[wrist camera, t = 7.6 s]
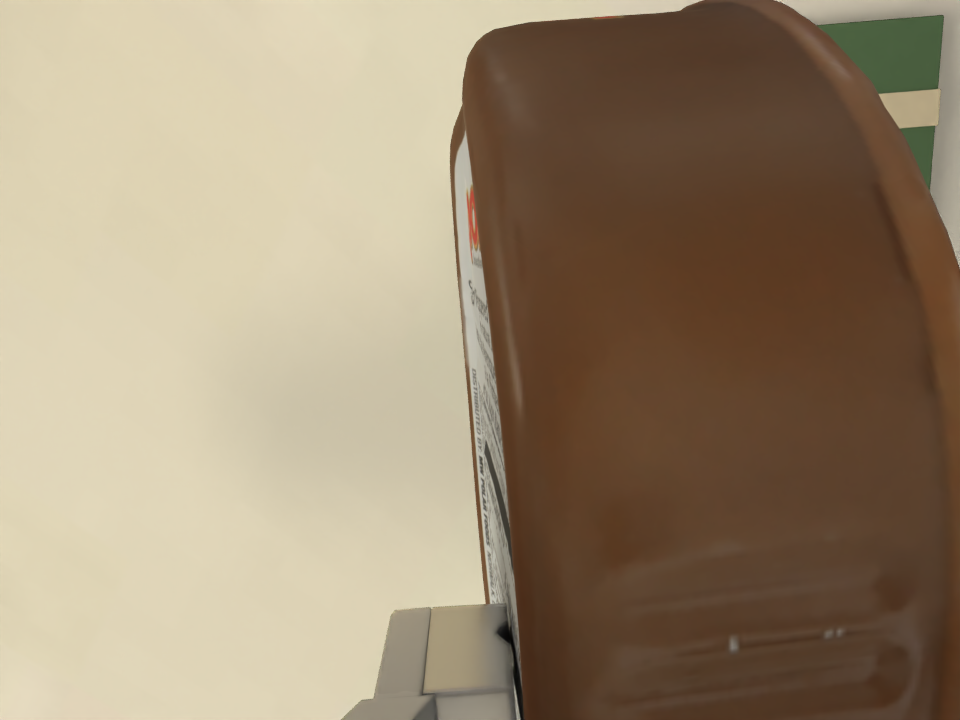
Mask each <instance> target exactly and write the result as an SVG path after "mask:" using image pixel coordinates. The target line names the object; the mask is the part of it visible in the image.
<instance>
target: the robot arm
mask: <svg viewBox="0 0 960 720" xmlns="http://www.w3.org/2000/svg"><path fill="white" fill-rule="evenodd" d="M341 720H517V717H516V705H515V693H514V681H513V670H512V658H511V646H510V636H509V624H508V613H507V603H499V604H481V605H463V606H445V607H433V608H432V609H431V608H430V607H426V608H414V609H402V610H395V611H394V612H393V613H392V615H391V616H390V621H389V626H388V631H387V635H386V640H385V645H384V650H383V655H382V660H381V664H380V669H379V674H378V679H377V684H376V689H375V693H374V698H373V699H367V700H361V701H360V702H359V703H358V704H357V705H356V706H355V707H354V708H353V709H352V710H351V711H349V712H348V713H347V714H346V715H345V716H344V717H343V718H342V719H341Z"/></svg>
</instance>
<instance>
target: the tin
mask: <svg viewBox="0 0 960 720" xmlns="http://www.w3.org/2000/svg"><path fill="white" fill-rule="evenodd" d="M462 103H463V104H462V107H461V110H460V112H459V115H458V118H457V120H456V123H455V126H454V129H453V134H452V139H451V146H450V176H451V194H452V207H453V221H454V235H455V249H456V263H457V277H458V287H459V298H460V308H461V320H462V333H463V345H464V357H465V368H466V379H467V391H468V403H469V416H470V429H471V442H472V455H473V467H474V480H475V492H476V505H477V517H478V528H479V539H480V550H481V561H482V572H483V582H484V591H485V600H486V604H499V603H507V613H508V624H509V636H510V646H511V658H512V670H513V681H514V693H515V705H516V717H517V720H960V268H959V265H958V262H957V259H956V256H955V253H954V250H953V247H952V244H951V241H950V238H949V235H948V232H947V230H946V228H945V226H944V223H943V221H942V219H941V217H940V215H939V212H938V210H937V208H936V205H935V203H934V201H933V198H932V196H931V194H930V191H929V189H928V187H927V185H926V182H925V180H924V178H923V175H922V173H921V171H920V169H919V166H918V164H917V162H916V159H915V157H914V155H913V153H912V151H911V149H910V146H909V144H908V142H907V140H906V138H905V136H904V135H903V133H902V132H901V130H900V129H899V127H898V125H897V124H896V122H895V121H894V119H893V118H892V116H891V115H890V114H889V112H888V111H887V109H886V108H885V106H884V104H883V102H882V100H881V98H880V96H879V94H878V92H877V90H876V89H875V87H874V85H873V83H872V81H871V80H870V79H869V78H868V77H867V76H866V75H865V74H864V73H863V72H862V71H861V69H860V68H859V67H858V66H857V65H856V64H855V63H854V62H853V61H852V60H851V59H850V57H849V56H848V55H847V54H846V53H845V52H844V51H843V50H842V49H841V48H840V47H839V46H838V45H837V43H836V42H835V41H834V40H833V39H832V38H831V37H830V36H829V35H828V34H827V33H826V32H824V31H823V30H822V29H820V28H819V27H818V26H816V25H815V24H814V23H812V22H811V21H810V20H808V19H807V18H805V17H803V16H802V15H800V14H799V13H798V12H796V11H795V10H794V9H792V8H790V7H788V6H786V5H785V4H783V3H781V2H777V1H774V0H703V1H700V2H697V3H695V4H692V5H689V6H687V7H685V8H684V9H682V10H681V11H677V12H667V13H656V14H640V15H624V16H607V17H594V18H581V19H568V20H555V21H542V22H529V23H524V24H519V25H514V26H509V27H504V28H499V29H494V30H492V31H490V32H489V33H487V34H485V35H484V36H483V37H481V38H480V39H479V40H478V41H477V42H476V44H475V45H474V47H473V49H472V50H471V52H470V54H469V55H468V58H467V62H466V68H465V73H464V79H463V92H462Z"/></svg>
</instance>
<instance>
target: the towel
mask: <svg viewBox="0 0 960 720" xmlns="http://www.w3.org/2000/svg"><path fill="white" fill-rule="evenodd" d="M943 20H944V16H943V15H937V16H924V17H912V18H900V19H887V20H875V21H863V22H850V23H838V24H826V25H816V26H818V27H819V28H820V29H822V30H823V31H824V32H826V33H827V34H828V35H829V36H830V37H831V38H832V39H833V40H834V41H835V42H836V43H837V45H838V46H839V47H840V48H841V49H842V50H843V51H844V52H845V53H846V54H847V55H848V56H849V57H850V59H851V60H852V61H853V62H854V63H855V64H856V65H857V66H858V67H859V68H860V69H861V71H862V72H863V73H864V74H865V75H866V76H867V77H868V78H869V79H870V80H871V81H872V83H873V85H874V87H875V89H876V90H877V92H878V94H879V96H880V98H881V100H882V102H883V104H884V106H885V108H886V109H887V111H888V112H889V114H890V115H891V116H892V118H893V119H894V121H895V122H896V124H897V125H898V127H899V129H900V130H901V132H902V133H903V135H904V136H905V138H906V140H907V142H908V144H909V146H910V149H911V151H912V153H913V155H914V157H915V159H916V162H917V164H918V166H919V169H920V171H921V173H922V175H923V178H924V180H925V182H926V185H927V187H928V189H929V191H930V181H931V169H932V157H933V144H934V132H935V126H936V125H938V118H939V106H940V94H941V89H938V82H939V70H940V57H941V45H942V32H943Z"/></svg>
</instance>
